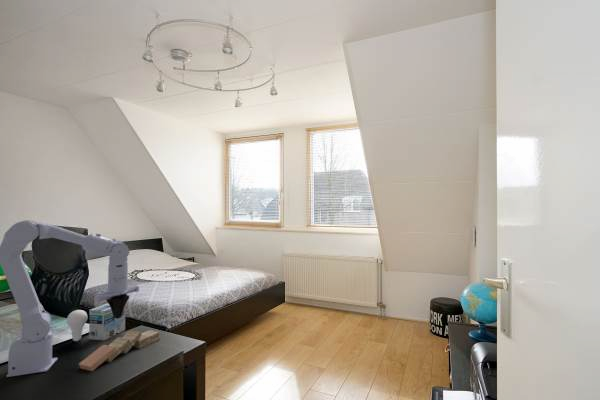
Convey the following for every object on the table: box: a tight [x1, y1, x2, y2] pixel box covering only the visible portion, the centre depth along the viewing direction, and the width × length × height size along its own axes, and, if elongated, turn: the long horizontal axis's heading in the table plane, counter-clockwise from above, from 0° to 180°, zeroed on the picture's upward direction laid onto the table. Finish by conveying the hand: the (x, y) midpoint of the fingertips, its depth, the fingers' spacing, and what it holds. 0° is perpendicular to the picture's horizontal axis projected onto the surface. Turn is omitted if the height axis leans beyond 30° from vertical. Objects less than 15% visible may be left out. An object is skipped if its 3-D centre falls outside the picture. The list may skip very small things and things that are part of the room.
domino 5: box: [132, 336, 161, 349], centre depth 109 cm, size 2×5×8 cm
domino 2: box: [104, 336, 130, 363], centre depth 100 cm, size 2×5×8 cm
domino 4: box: [135, 329, 160, 345], centre depth 110 cm, size 2×5×8 cm
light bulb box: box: [88, 302, 127, 341], centre depth 117 cm, size 11×7×11 cm, turn 168°
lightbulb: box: [66, 309, 89, 342], centre depth 111 cm, size 6×6×11 cm
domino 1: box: [78, 344, 116, 372], centre depth 94 cm, size 2×5×8 cm
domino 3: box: [120, 330, 142, 355], centre depth 104 cm, size 2×5×8 cm
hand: (117, 317), depth 105 cm, fingers closed
